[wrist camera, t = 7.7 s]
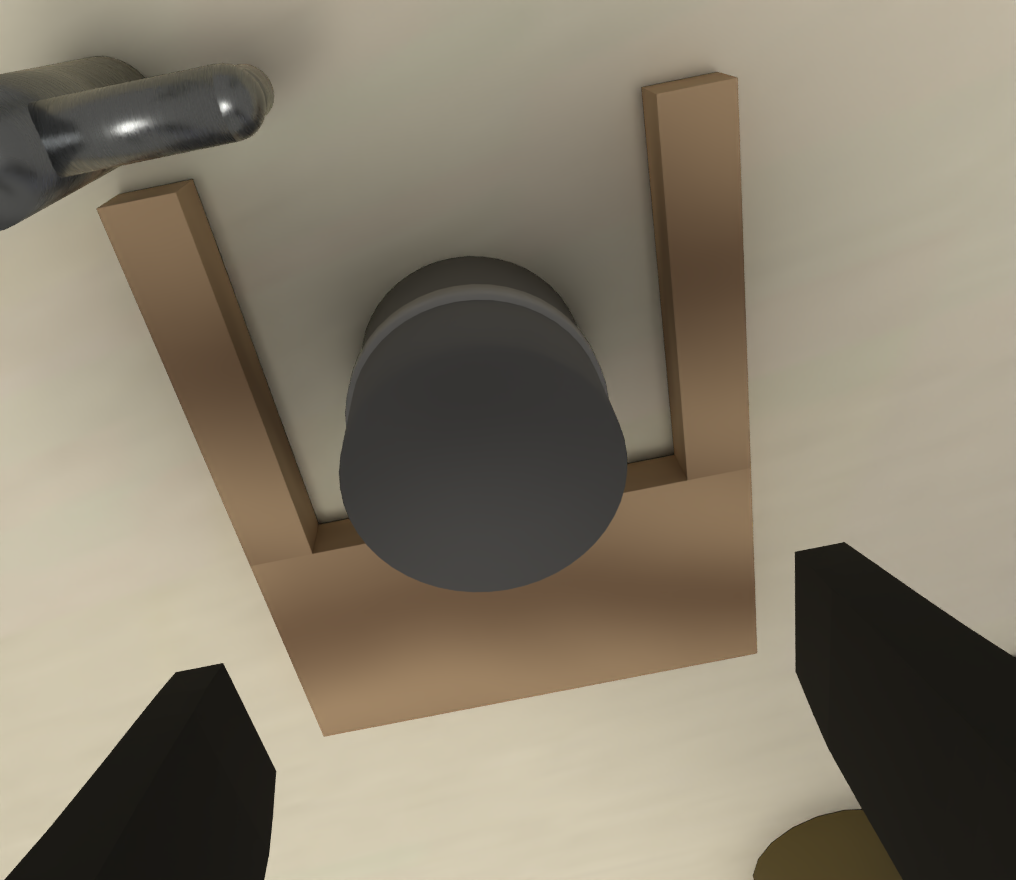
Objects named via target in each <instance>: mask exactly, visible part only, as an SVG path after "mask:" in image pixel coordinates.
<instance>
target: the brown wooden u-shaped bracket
mask: <svg viewBox="0 0 1016 880" xmlns="http://www.w3.org/2000/svg"><path fill="white" fill-rule="evenodd" d="M642 98H643V109H644V120H645V131H646V143H647V154H648V165H649V176H650V188H651V199H652V210H653V221H654V232H655V244H656V255H657V266H658V277H659V289H660V300H661V311H662V322H663V333H664V345H665V356H666V367H667V378H668V390H669V401H670V412H671V423H672V435H673V446H674V455H670V456H665V457H660V458H655V459H650V460H645V461H640V462H635V463H630V464H627V477H626V484H625V489H624V492H623V496H622V499H621V503H620V505H619V507H618V509H617V512H616V514H615V516H614V518H613V519H612V521H611V523H610V524H609V526H608V527H607V529H606V531H605V532H604V533H603V534H602V536H601V537H600V538H599V539H598V540H597V542H596V543H595V544H594V545H593V546H592V547H591V548H590V549H589V550H588V551H587V552H586V553H585V554H584V555H582V556H581V557H580V558H578V559H577V560H576V561H574V562H573V563H572V564H570V565H569V566H567V567H565V568H564V569H562V570H560V571H559V572H557V573H555V574H553V575H551V576H549V577H547V578H545V579H542V580H540V581H537V582H534V583H531V584H528V585H525V586H522V587H517V588H513V589H509V590H502V591H493V592H464V591H454V590H449V589H443V588H438V587H435V586H432V585H429V584H425V583H422V582H420V581H418V580H415V579H413V578H411V577H408V576H406V575H404V574H403V573H401V572H399V571H398V570H396V569H394V568H392V567H391V566H390V565H388V564H387V563H386V562H384V561H383V560H382V559H380V558H379V557H378V556H377V555H376V554H375V553H374V552H373V551H372V550H371V549H370V548H369V547H368V546H367V545H366V543H365V542H364V541H363V540H362V538H361V537H360V536H359V534H358V533H357V531H356V530H355V528H354V526H353V524H352V523H351V521H350V519H345V520H340V521H335V522H330V523H325V524H320V525H319V524H318V521H317V519H316V516H315V513H314V510H313V508H312V505H311V502H310V499H309V497H308V494H307V491H306V488H305V486H304V483H303V480H302V478H301V475H300V472H299V469H298V467H297V464H296V461H295V458H294V456H293V453H292V450H291V447H290V445H289V442H288V439H287V436H286V434H285V431H284V428H283V426H282V423H281V420H280V417H279V415H278V412H277V409H276V406H275V404H274V401H273V398H272V395H271V393H270V390H269V387H268V384H267V382H266V379H265V376H264V374H263V371H262V368H261V365H260V363H259V360H258V357H257V354H256V352H255V349H254V346H253V343H252V341H251V338H250V335H249V332H248V330H247V327H246V324H245V322H244V319H243V316H242V313H241V311H240V308H239V305H238V302H237V300H236V297H235V294H234V291H233V289H232V286H231V283H230V280H229V278H228V275H227V272H226V269H225V267H224V264H223V261H222V259H221V256H220V253H219V250H218V248H217V245H216V242H215V239H214V237H213V234H212V231H211V228H210V226H209V223H208V220H207V217H206V215H205V212H204V209H203V207H202V204H201V201H200V198H199V196H198V193H197V190H196V187H195V185H194V182H193V179H192V180H187V181H182V182H177V183H172V184H167V185H162V186H157V187H153V188H148V189H143V190H138V191H133V192H128V193H123V194H118V195H117V196H115V197H114V198H112V199H111V200H109V201H108V202H106V203H104V204H103V205H101V206H100V207H98V208H97V211H98V214H99V216H100V218H101V221H102V223H103V225H104V228H105V230H106V232H107V235H108V237H109V239H110V241H111V244H112V246H113V248H114V251H115V253H116V255H117V258H118V260H119V262H120V265H121V267H122V269H123V272H124V274H125V276H126V279H127V281H128V283H129V286H130V288H131V290H132V293H133V295H134V297H135V299H136V302H137V304H138V306H139V309H140V311H141V313H142V316H143V318H144V320H145V323H146V325H147V327H148V330H149V332H150V334H151V337H152V339H153V341H154V344H155V346H156V348H157V351H158V353H159V355H160V357H161V360H162V362H163V364H164V367H165V369H166V371H167V374H168V376H169V378H170V381H171V383H172V385H173V388H174V390H175V392H176V395H177V397H178V399H179V402H180V404H181V406H182V409H183V411H184V413H185V415H186V418H187V420H188V422H189V425H190V427H191V429H192V432H193V434H194V436H195V439H196V441H197V443H198V446H199V448H200V450H201V453H202V455H203V457H204V460H205V462H206V464H207V467H208V469H209V471H210V473H211V476H212V478H213V480H214V483H215V485H216V487H217V490H218V492H219V494H220V497H221V499H222V501H223V504H224V506H225V508H226V511H227V513H228V515H229V518H230V520H231V522H232V525H233V527H234V529H235V531H236V534H237V536H238V538H239V541H240V543H241V545H242V548H243V550H244V552H245V555H246V557H247V559H248V562H249V564H250V566H251V569H252V571H253V573H254V576H255V578H256V580H257V583H258V585H259V587H260V589H261V592H262V594H263V596H264V599H265V601H266V603H267V606H268V608H269V610H270V613H271V615H272V617H273V620H274V622H275V624H276V627H277V629H278V631H279V634H280V636H281V638H282V641H283V643H284V645H285V647H286V650H287V652H288V654H289V657H290V659H291V661H292V664H293V666H294V668H295V671H296V673H297V675H298V678H299V680H300V682H301V685H302V687H303V689H304V692H305V694H306V696H307V699H308V701H309V703H310V705H311V708H312V710H313V712H314V715H315V717H316V719H317V722H318V724H319V726H320V729H321V731H322V733H323V736H330V735H335V734H340V733H345V732H350V731H356V730H361V729H366V728H371V727H376V726H382V725H387V724H392V723H397V722H402V721H408V720H413V719H418V718H423V717H428V716H434V715H439V714H444V713H449V712H454V711H460V710H465V709H470V708H475V707H480V706H486V705H491V704H496V703H501V702H506V701H511V700H517V699H522V698H527V697H532V696H537V695H543V694H548V693H553V692H558V691H563V690H569V689H574V688H579V687H584V686H589V685H595V684H600V683H605V682H610V681H615V680H621V679H626V678H631V677H636V676H641V675H647V674H652V673H657V672H662V671H667V670H673V669H678V668H683V667H688V666H693V665H699V664H704V663H709V662H714V661H719V660H725V659H730V658H735V657H740V656H745V655H751V654H756V653H757V635H756V606H755V576H754V547H753V518H752V488H751V459H750V429H749V400H748V370H747V341H746V311H745V282H744V252H743V223H742V194H741V164H740V135H739V105H738V78H737V77H733V76H730V75H726V74H723V73H719V72H715V73H710V74H705V75H700V76H695V77H690V78H685V79H681V80H676V81H671V82H666V83H661V84H656V85H651V86H646V87H642Z"/></svg>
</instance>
